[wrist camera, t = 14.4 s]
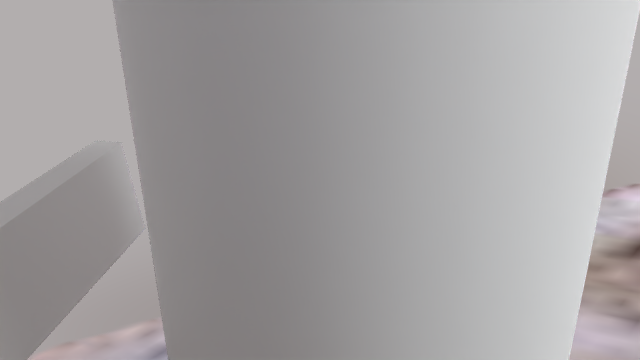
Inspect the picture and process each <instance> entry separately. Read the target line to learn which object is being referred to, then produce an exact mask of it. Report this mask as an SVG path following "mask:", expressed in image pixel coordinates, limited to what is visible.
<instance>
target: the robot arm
mask: <svg viewBox="0 0 640 360" xmlns="http://www.w3.org/2000/svg"><path fill="white" fill-rule="evenodd" d="M144 229H145V225H144V222H143V218H142V215H141V211H140V208H139V204H138V200H137V197H136V193H135V190H134V186H133V183H132V179H131V176H130V172H129V169H128V164H127V161H126V157H125V154H124V150H123V146H122V143H121V142H105V141H94V142H93V143H91V144H90V145H88V146H87V147H85V148H84V149H82V150H80V151H79V152H77V153H76V154H74V155H73V156H71V157H69V158H68V159H66V160H65V161H63V162H62V163H60V164H59V165H57V166H56V167H54V168H52V169H51V170H49V171H48V172H46V173H45V174H43V175H42V176H40V177H39V178H37V179H35V180H34V181H32V182H31V183H29V184H28V185H26V186H25V187H23V188H21V189H20V190H18V191H17V192H15V193H14V194H12V195H11V196H9V197H7V198H6V199H4V200H3V201H1V202H0V360H27V359H28V358H29V357H30V356H31V355H32V353H33V352H34V351H35V350H36V349H37V348H38V347H39V346H40V345H41V343H42V342H43V341H44V340H45V339H46V338H47V337H48V336H49V335H50V334H51V332H52V331H53V330H54V329H55V328H56V327H57V326H58V325H59V324H60V322H61V321H62V320H63V319H64V318H65V317H66V316H67V315H68V314H69V313H70V311H71V310H72V309H73V308H74V307H75V306H76V305H77V303H79V301H80V300H81V299H82V298H83V297H84V296H85V295H86V294H87V293H88V291H89V290H90V289H91V288H92V287H93V286H94V285H95V284H96V283H97V282H98V280H99V279H100V278H101V277H102V276H103V275H104V274H105V273H106V271H107V270H108V269H109V268H110V267H111V266H112V265H113V264H114V263H115V262H116V261H117V259H118V258H119V257H120V256H121V255H122V254H123V253H124V252H125V251H126V249H127V248H128V247H129V246H130V245H131V244H132V243H133V242H134V241H135V239H136V238H137V237H138V236H139V235H140V234H141V233H142V232H143V231H144Z"/></svg>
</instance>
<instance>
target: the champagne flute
mask: <svg viewBox="0 0 640 360" xmlns="http://www.w3.org/2000/svg"><path fill="white" fill-rule="evenodd" d="M113 6H114V13H115V19H116V25H117V32H118V38H119V45H120V52H121V58H122V64H123V71H124V77H125V84H126V90H127V97H128V103H129V110H130V116H131V123H132V129H133V135H134V142H135V148H136V155H137V161H138V167H139V174H140V181H141V186H142V193H143V200H144V206H145V213H146V219H147V226H148V232H149V239H150V245H151V251H152V258H153V264H154V271H155V277H156V283H157V290H158V296H159V303H160V309H161V316H162V322H163V329H164V335H165V342H166V348H167V355H168V360H569V357H570V352H571V347H572V342H573V337H574V332H575V327H576V322H577V318H578V313H579V308H580V303H581V298H582V293H583V288H584V283H585V278H586V273H587V268H588V263H589V258H590V253H591V248H592V243H593V238H594V234H595V229H596V224H597V219H598V214H599V209H600V204H601V199H602V194H603V189H604V184H605V179H606V174H607V169H608V164H609V159H610V154H611V149H612V145H613V140H614V134H615V130H616V125H617V120H618V115H619V110H620V105H621V100H622V95H623V90H624V85H625V80H626V75H627V70H628V65H629V60H630V56H631V51H632V46H633V41H634V35H635V31H636V26H637V21H638V16H639V11H640V0H113Z"/></svg>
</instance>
